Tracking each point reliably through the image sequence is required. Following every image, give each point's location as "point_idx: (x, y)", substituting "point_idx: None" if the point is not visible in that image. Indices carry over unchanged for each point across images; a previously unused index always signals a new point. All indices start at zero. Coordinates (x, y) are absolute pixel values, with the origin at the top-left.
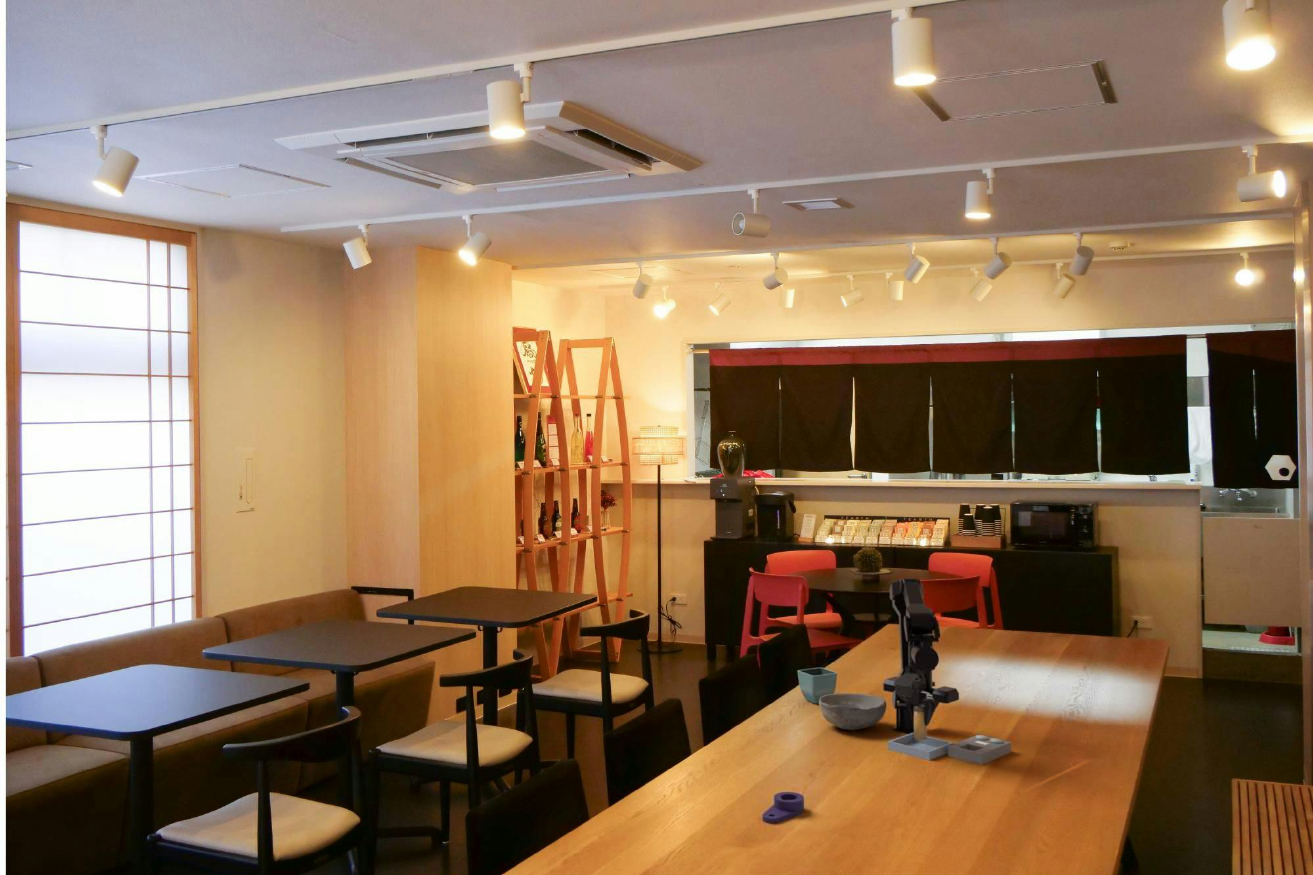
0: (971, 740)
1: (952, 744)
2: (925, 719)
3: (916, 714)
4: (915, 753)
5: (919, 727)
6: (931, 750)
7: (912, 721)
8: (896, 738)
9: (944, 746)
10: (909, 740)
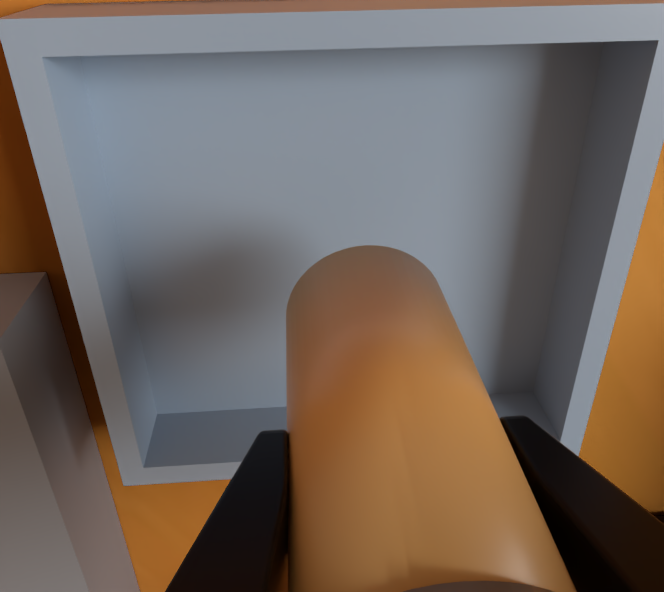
0: (33, 589)
1: (21, 410)
2: (251, 501)
3: (442, 510)
4: (236, 5)
5: (342, 346)
6: (33, 105)
7: (530, 421)
8: (643, 204)
9: (89, 351)
10: (551, 357)
